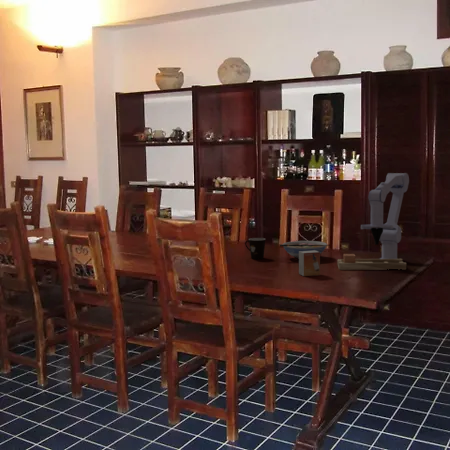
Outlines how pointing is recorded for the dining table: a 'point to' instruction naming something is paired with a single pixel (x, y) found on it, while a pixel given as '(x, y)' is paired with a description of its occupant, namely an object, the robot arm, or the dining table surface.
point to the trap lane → (372, 264)
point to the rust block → (349, 258)
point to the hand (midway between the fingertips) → (376, 244)
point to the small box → (309, 263)
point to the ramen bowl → (303, 247)
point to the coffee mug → (256, 247)
